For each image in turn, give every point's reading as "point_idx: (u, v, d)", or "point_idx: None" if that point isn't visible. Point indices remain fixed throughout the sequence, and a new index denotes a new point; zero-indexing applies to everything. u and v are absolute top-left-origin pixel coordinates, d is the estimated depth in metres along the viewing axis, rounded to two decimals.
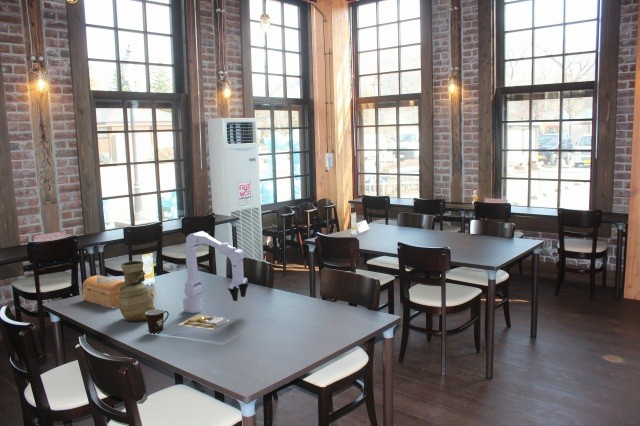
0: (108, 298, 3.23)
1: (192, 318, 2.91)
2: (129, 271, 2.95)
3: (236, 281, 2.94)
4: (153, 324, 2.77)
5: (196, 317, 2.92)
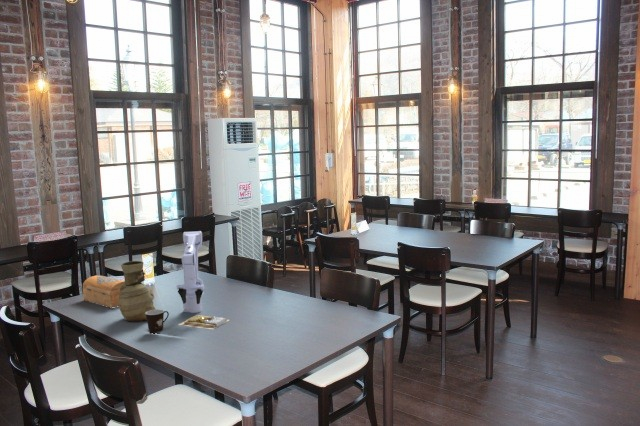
0: (109, 298, 3.23)
1: (192, 318, 2.91)
2: (129, 271, 2.95)
3: None
4: (153, 324, 2.77)
5: (196, 317, 2.92)
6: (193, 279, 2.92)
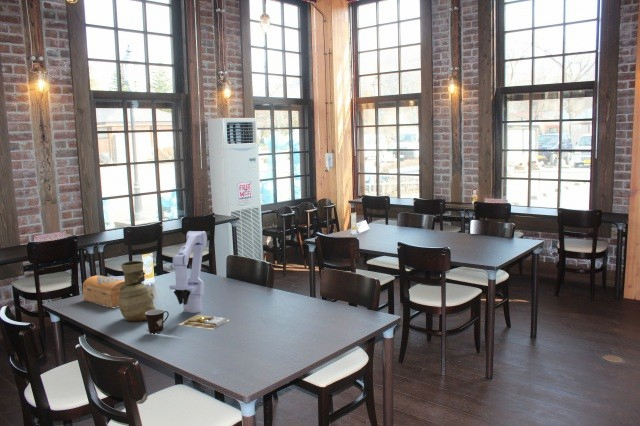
0: (109, 298, 3.23)
1: (192, 318, 2.91)
2: (129, 271, 2.95)
3: None
4: (153, 324, 2.77)
5: (196, 317, 2.92)
6: (184, 280, 2.91)
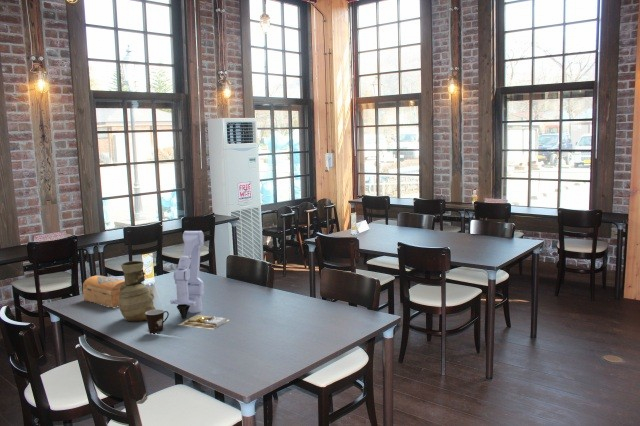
0: (109, 298, 3.23)
1: (192, 318, 2.91)
2: (129, 271, 2.95)
3: None
4: (153, 324, 2.77)
5: (196, 317, 2.92)
6: (185, 295, 2.92)
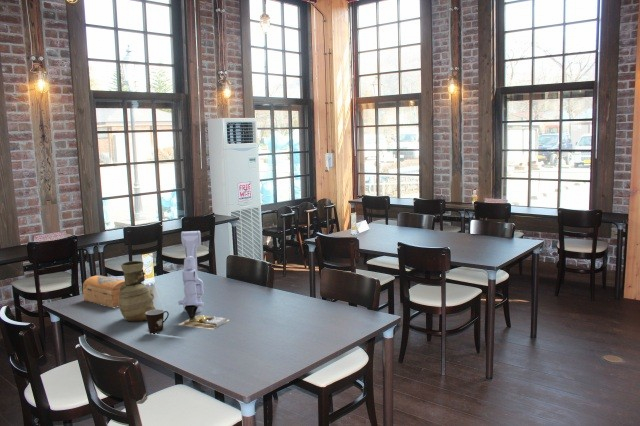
0: (110, 298, 3.23)
1: (194, 318, 2.90)
2: (129, 271, 2.95)
3: None
4: (153, 324, 2.77)
5: (198, 317, 2.92)
6: (193, 296, 2.90)
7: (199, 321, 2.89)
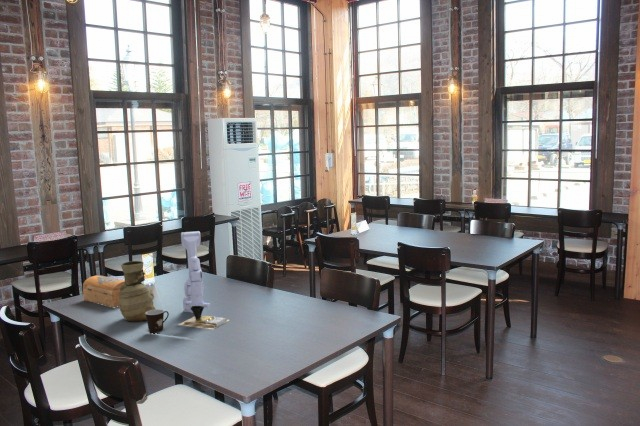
0: (110, 298, 3.23)
1: (200, 319, 2.89)
2: (129, 271, 2.95)
3: None
4: (153, 324, 2.77)
5: (204, 318, 2.90)
6: (200, 296, 2.88)
7: None
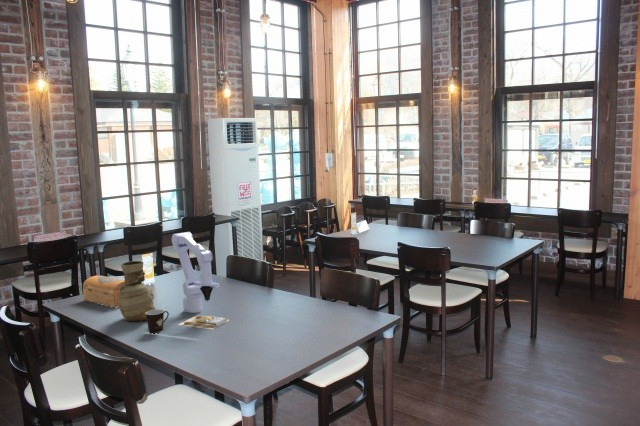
0: (111, 297, 3.23)
1: (200, 319, 2.89)
2: (129, 271, 2.95)
3: None
4: (153, 324, 2.77)
5: (204, 318, 2.90)
6: (209, 277, 2.95)
7: None
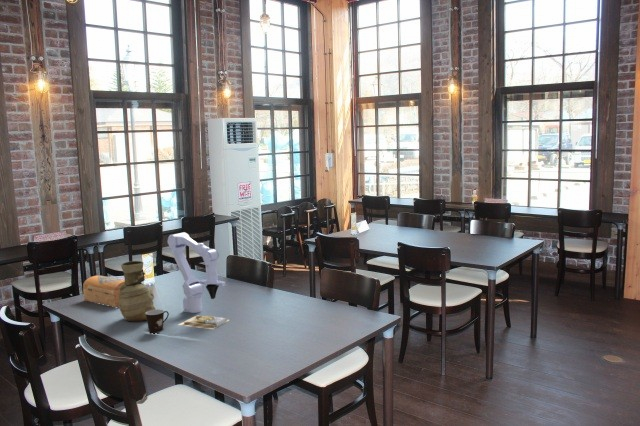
0: (112, 297, 3.24)
1: (200, 319, 2.89)
2: (129, 271, 2.95)
3: None
4: (153, 324, 2.77)
5: (204, 318, 2.90)
6: (215, 275, 2.97)
7: None
